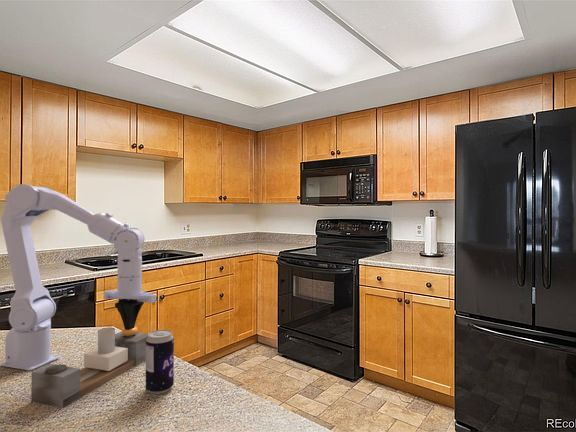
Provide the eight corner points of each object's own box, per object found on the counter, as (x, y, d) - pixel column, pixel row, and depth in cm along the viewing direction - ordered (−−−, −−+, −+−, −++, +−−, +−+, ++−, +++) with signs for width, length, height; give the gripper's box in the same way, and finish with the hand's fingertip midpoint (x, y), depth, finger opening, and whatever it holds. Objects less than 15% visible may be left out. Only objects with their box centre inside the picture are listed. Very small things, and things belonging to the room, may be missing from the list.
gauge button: (118, 341, 92) (118, 329, 92) (128, 337, 95) (128, 325, 95) (130, 343, 91) (130, 331, 91) (140, 338, 94) (140, 327, 94)
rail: (29, 401, 72) (29, 369, 72) (123, 352, 97) (123, 329, 97) (65, 408, 70) (65, 375, 69) (151, 356, 94) (151, 332, 94)
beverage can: (164, 397, 74) (165, 339, 74) (139, 394, 75) (140, 336, 75) (178, 384, 80) (178, 330, 80) (155, 381, 81) (155, 328, 81)
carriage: (83, 366, 84) (84, 332, 83) (103, 356, 89) (104, 324, 89) (108, 370, 82) (109, 335, 81) (127, 360, 87) (127, 327, 87)
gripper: (94, 276, 91) (94, 330, 91) (143, 280, 87) (143, 336, 87) (115, 272, 98) (115, 322, 98) (161, 275, 94) (161, 327, 94)
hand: (129, 328), depth 93 cm, fingers closed, pressing on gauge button
